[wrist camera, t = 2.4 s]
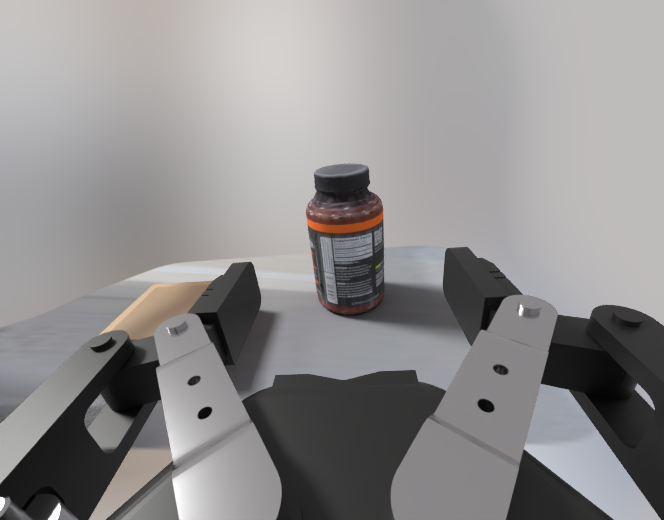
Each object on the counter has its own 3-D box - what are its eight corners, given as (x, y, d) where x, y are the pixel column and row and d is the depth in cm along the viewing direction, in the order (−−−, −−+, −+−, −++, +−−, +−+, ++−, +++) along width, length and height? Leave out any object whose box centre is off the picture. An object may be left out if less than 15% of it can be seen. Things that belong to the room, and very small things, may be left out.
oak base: (101, 384, 20) (78, 350, 19) (165, 311, 27) (152, 282, 26) (215, 382, 19) (201, 345, 18) (250, 308, 26) (242, 277, 25)
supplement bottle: (322, 280, 30) (307, 163, 24) (382, 278, 29) (380, 158, 24) (313, 318, 24) (292, 180, 19) (386, 317, 24) (385, 173, 18)
